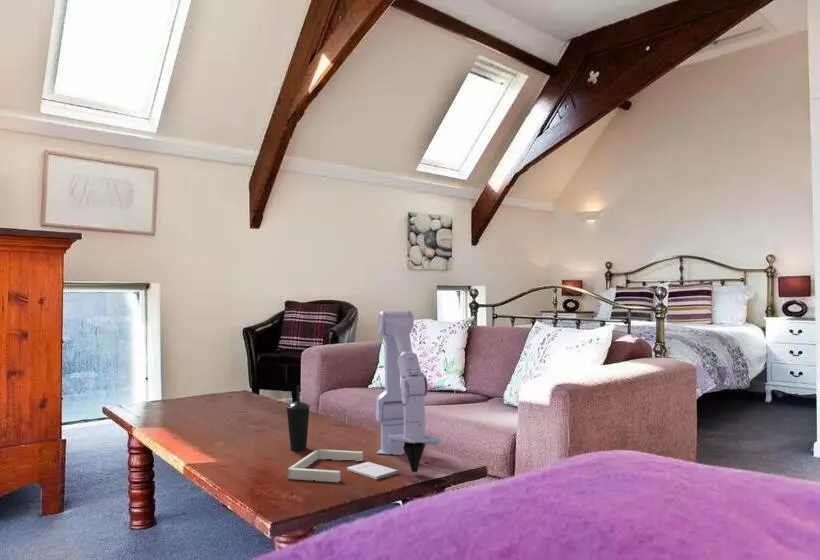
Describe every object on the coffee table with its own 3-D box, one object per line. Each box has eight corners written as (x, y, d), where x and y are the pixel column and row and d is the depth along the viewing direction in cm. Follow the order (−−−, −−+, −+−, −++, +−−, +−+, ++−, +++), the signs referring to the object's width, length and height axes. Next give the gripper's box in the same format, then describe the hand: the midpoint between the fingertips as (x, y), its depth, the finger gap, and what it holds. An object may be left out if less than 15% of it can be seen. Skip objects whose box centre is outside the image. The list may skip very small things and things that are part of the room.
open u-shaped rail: (317, 457, 178) (317, 449, 178) (363, 460, 175) (363, 451, 175) (287, 478, 158) (287, 469, 158) (338, 482, 155) (338, 472, 155)
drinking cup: (286, 453, 183) (286, 387, 183) (285, 446, 190) (284, 384, 191) (312, 451, 185) (311, 386, 185) (309, 445, 192) (308, 383, 193)
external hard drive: (376, 482, 156) (346, 472, 165) (399, 475, 162) (369, 466, 170) (376, 476, 156) (346, 466, 165) (399, 469, 162) (369, 460, 170)
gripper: (384, 422, 158) (384, 473, 158) (437, 424, 155) (438, 477, 155) (391, 416, 165) (391, 466, 165) (442, 419, 162) (443, 469, 162)
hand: (414, 471), depth 160 cm, fingers closed
